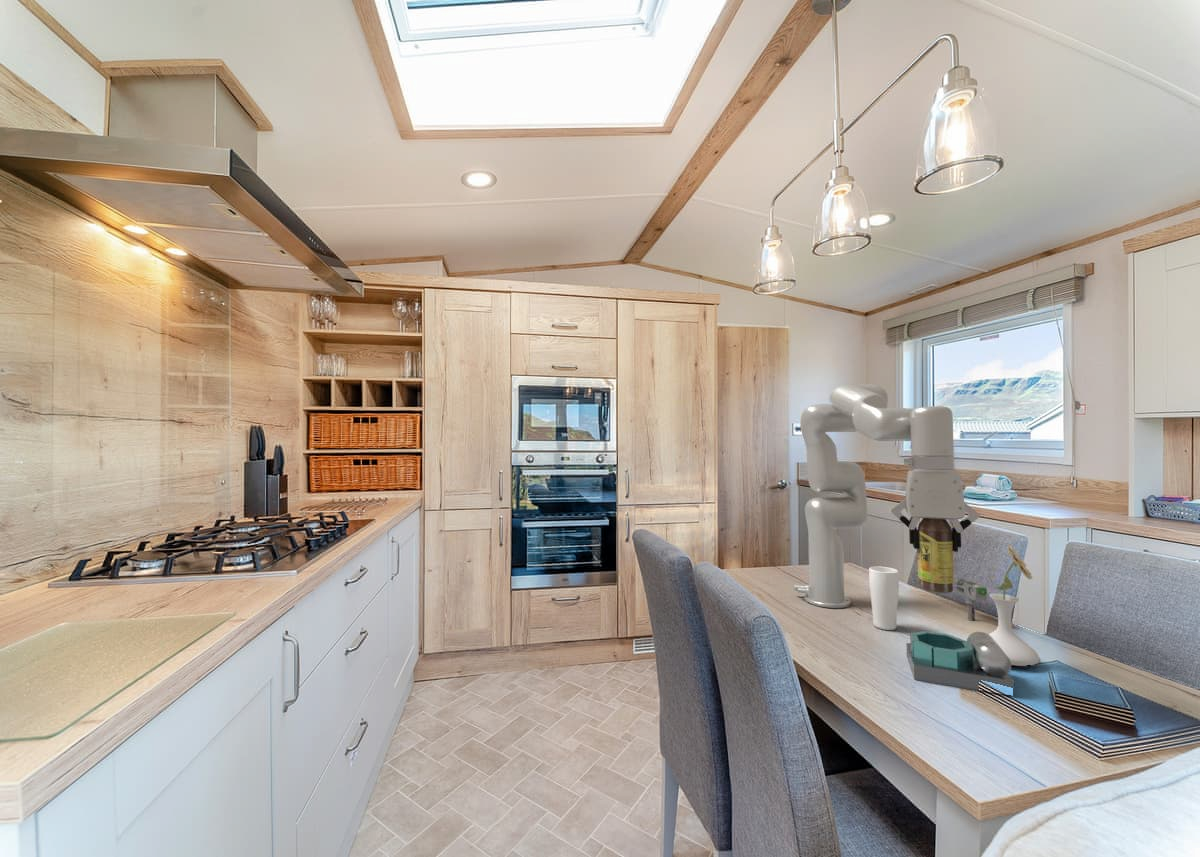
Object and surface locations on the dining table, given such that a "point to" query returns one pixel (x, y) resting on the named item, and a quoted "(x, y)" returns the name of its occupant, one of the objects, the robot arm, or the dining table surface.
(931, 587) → the sauce bottle
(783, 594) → the dining table surface
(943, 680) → the base
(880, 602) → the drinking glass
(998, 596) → the flower in vase
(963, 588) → the mechanical component
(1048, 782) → the dining table surface
